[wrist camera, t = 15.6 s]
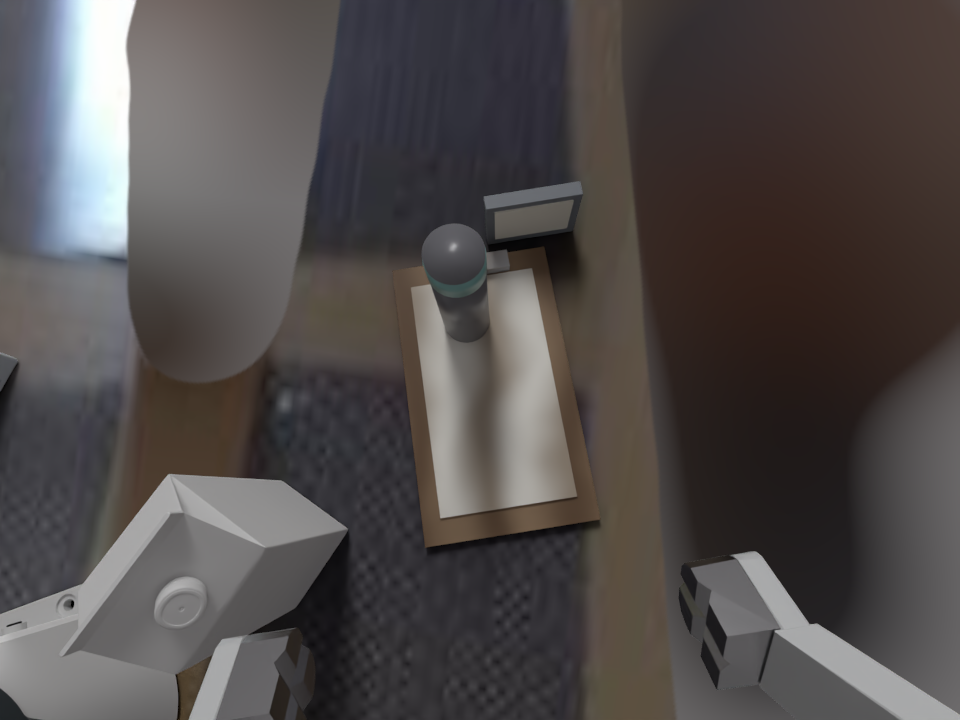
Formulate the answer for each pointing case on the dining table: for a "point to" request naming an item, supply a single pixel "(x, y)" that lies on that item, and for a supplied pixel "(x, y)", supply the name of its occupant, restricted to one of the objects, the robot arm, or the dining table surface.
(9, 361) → the tea box
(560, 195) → the picture frame
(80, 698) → the robot arm
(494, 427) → the clipboard
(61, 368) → the dining table surface
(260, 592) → the milk carton
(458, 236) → the microphone
